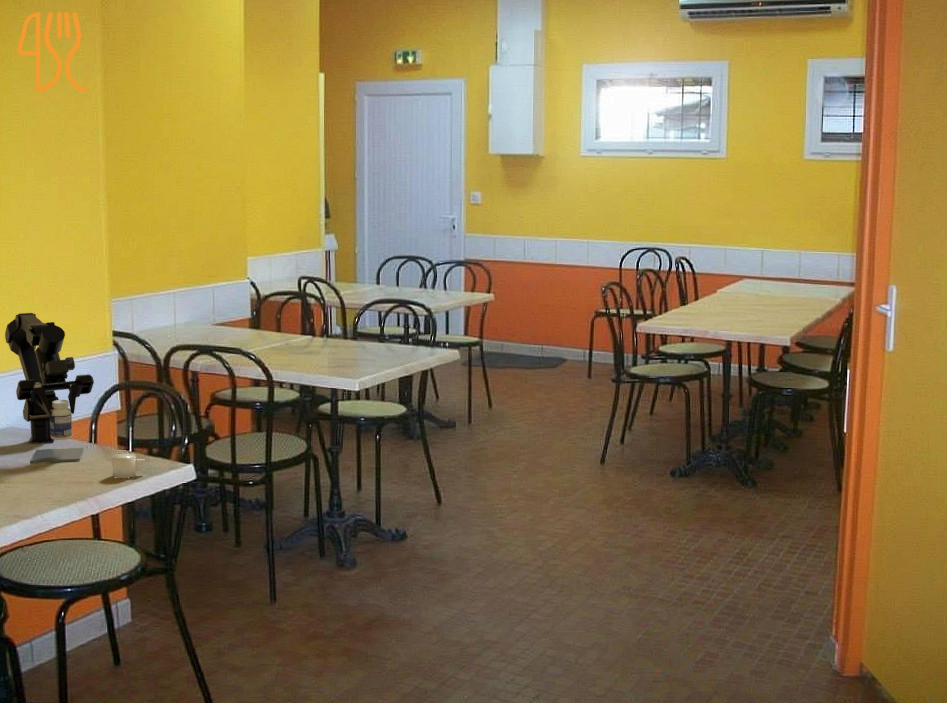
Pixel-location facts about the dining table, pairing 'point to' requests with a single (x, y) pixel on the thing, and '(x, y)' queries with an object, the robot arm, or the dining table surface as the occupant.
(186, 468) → the dining table surface
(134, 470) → the espresso cup
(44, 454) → the slate coaster
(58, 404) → the pill bottle
